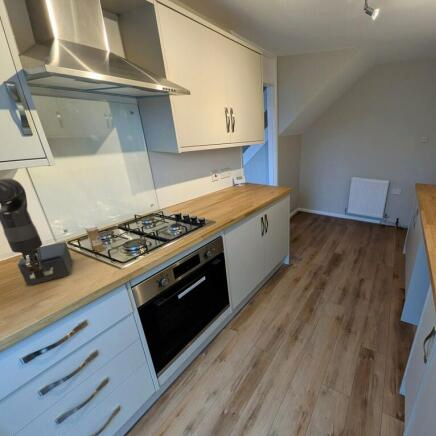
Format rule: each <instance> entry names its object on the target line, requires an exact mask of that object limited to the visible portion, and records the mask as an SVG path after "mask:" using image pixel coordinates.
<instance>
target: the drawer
mask: <svg viewBox="0 0 436 436" xmlns="http://www.w3.org/2000/svg"><path fill="white" fill-rule="evenodd" d="M41 268H42V269H43V272H44V274H45V276H44V278H41V279H36V278H35V276H34V273H33V271H32V272H29V271H28V270H27V269H26V268H25V267H24V266H23V267H20V269H19V271H20V273H21V275H22V277H24V278H23V280H24V279H25V280H24V282H25V281H26V282H25V284H26V286H32V285H35V284H39V283H43V282H47V281H51V280H55V279H59V278H63V277H67V276H68V275H67V273H66V271H65V268H64V265H63V263H62V260H61V258H60V257H59V258H54V259H50V260H45V261H42V267H41Z"/></svg>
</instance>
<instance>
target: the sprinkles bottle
mask: <svg viewBox="0 0 436 436" xmlns="http://www.w3.org/2000/svg"><path fill="white" fill-rule="evenodd" d="M84 229H85V232H86V233H87V238H88V241H89V244H90V247H91V249H92V252H93V253H99V252H102V251H104V246H103V243H102V239H101V236H100V233H99V227H98V225H97V224H89V225H86V226H84ZM93 250H95V251H93Z"/></svg>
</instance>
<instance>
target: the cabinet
mask: <svg viewBox="0 0 436 436" xmlns="http://www.w3.org/2000/svg"><path fill="white" fill-rule="evenodd" d="M37 249H40V253H41V258H42V261H45V260H50V259H54V258H59V257H60V258H61V260H62V263H63V265H64V268H65V271H66V273H67V276H70V275H71V270H72V265H73V258H72V255H71V252H70V249H69V247H68V244H67V242H66V241H64V242H58V243H53V244H47V245H41V246H40V247H39V248H37ZM23 263H25V262H24V261H23V260H22V258H20V260H19V261H18V262H17V267H18V269H19V270H20V267H23ZM22 277H23V276H22ZM23 280H24V282H25V283H26V281H25V279H24V277H23Z"/></svg>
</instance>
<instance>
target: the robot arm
mask: <svg viewBox="0 0 436 436" xmlns="http://www.w3.org/2000/svg"><path fill="white" fill-rule="evenodd" d="M32 219H33V218H32V217H31V214H30V212H29V210H28V199H27V192H26V189H25V188H24V186H23V184H22V183H21V182H20V181H18V180H17V179H13V178H9V177H6V178H4V177H3V178H0V225H1V227H2V230H3V234H4V237H5V239H6V241H7V243H8V246H9V247H10V250H11V251H12V252H13V253H16V254H17V253H20V254H22V255H20V257H21V258H22V260H23V261H24V262H25V263H23V266H24V267H25V268H26V269H27V270H28V271H29V272H32V271H33V273H34V276H35V278H36V279H41V278H44V276H45V274H44V272H43V269H42V268H41V267H42V258H41V253H40V249H37V248H39V247H42V246H43V241H42V239H41V236H40V234H39V232H38V229H37V227H36V225H35V224H34V221H33V220H32ZM21 258H20V259H21Z"/></svg>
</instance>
